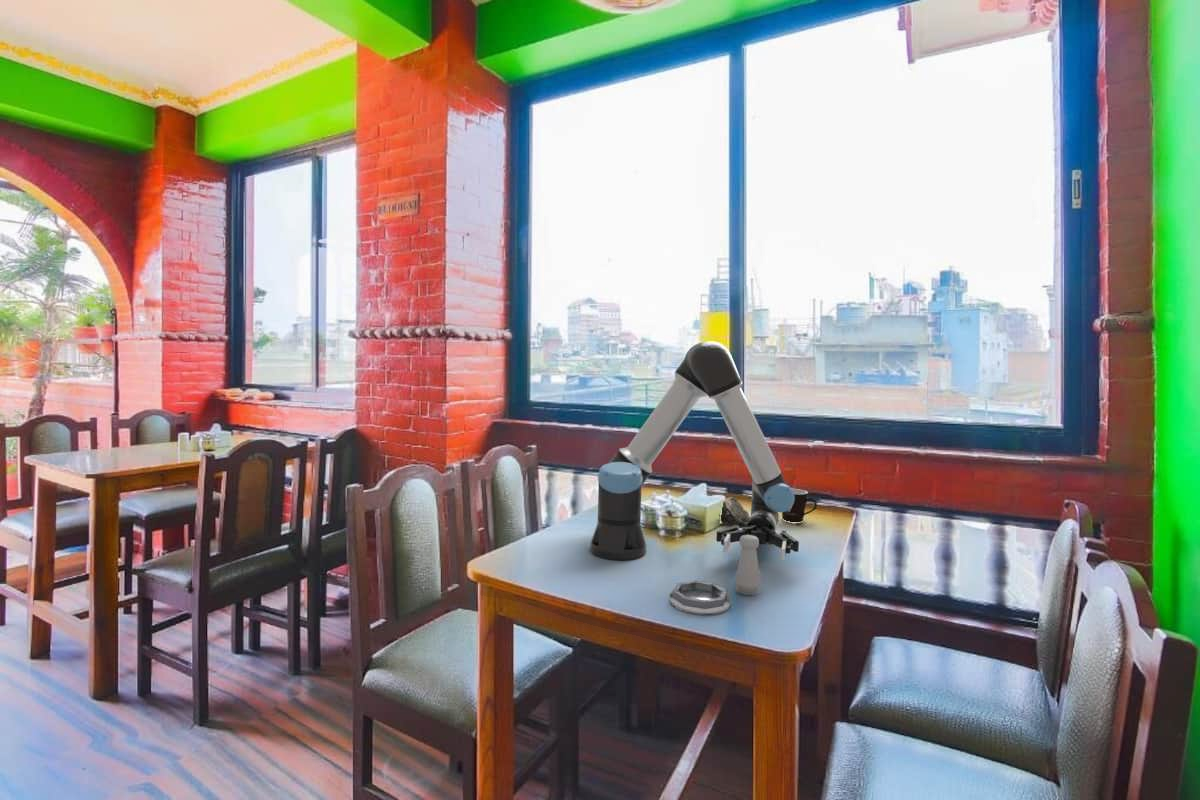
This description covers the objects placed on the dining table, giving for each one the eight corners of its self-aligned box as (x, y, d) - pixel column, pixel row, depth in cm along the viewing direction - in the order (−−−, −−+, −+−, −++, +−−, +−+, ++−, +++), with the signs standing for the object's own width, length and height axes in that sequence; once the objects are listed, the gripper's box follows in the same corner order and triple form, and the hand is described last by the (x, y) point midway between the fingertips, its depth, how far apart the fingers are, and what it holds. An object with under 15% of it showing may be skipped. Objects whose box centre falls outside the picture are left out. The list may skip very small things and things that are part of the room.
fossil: (752, 527, 186) (738, 498, 186) (725, 538, 188) (711, 510, 188) (750, 517, 197) (737, 490, 197) (725, 528, 199) (711, 501, 199)
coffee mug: (773, 518, 200) (775, 489, 199) (795, 516, 202) (797, 487, 202) (794, 528, 189) (796, 497, 188) (817, 526, 191) (819, 495, 190)
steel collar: (663, 608, 125) (663, 597, 125) (676, 586, 137) (677, 576, 137) (725, 619, 121) (725, 607, 121) (733, 595, 133) (734, 585, 133)
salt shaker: (741, 585, 139) (743, 530, 139) (764, 591, 136) (766, 536, 135) (729, 592, 135) (732, 536, 134) (753, 599, 131) (755, 541, 130)
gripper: (808, 546, 159) (807, 573, 139) (715, 535, 168) (701, 558, 148) (810, 519, 159) (809, 541, 139) (716, 509, 167) (702, 528, 147)
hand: (753, 550), depth 143 cm, fingers open, 13 cm apart
